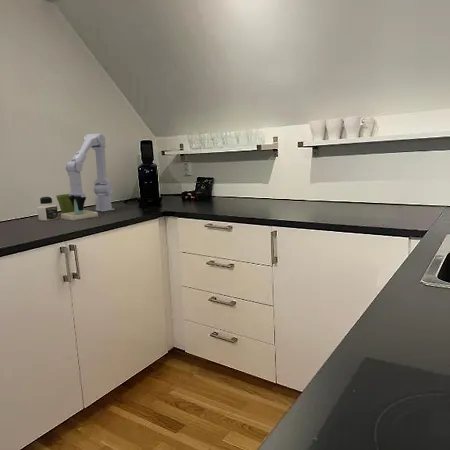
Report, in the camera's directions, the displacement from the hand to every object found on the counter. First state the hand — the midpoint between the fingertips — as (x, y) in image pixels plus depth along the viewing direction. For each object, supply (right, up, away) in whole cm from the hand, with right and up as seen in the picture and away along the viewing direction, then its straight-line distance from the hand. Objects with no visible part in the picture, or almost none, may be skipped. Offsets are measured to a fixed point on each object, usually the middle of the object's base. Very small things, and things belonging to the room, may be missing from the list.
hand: (78, 210), depth 236 cm
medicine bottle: (-16, -5, +1) cm, 17 cm away
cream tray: (0, -4, +1) cm, 4 cm away
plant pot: (-10, -2, +14) cm, 18 cm away
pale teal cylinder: (0, -2, +1) cm, 2 cm away
